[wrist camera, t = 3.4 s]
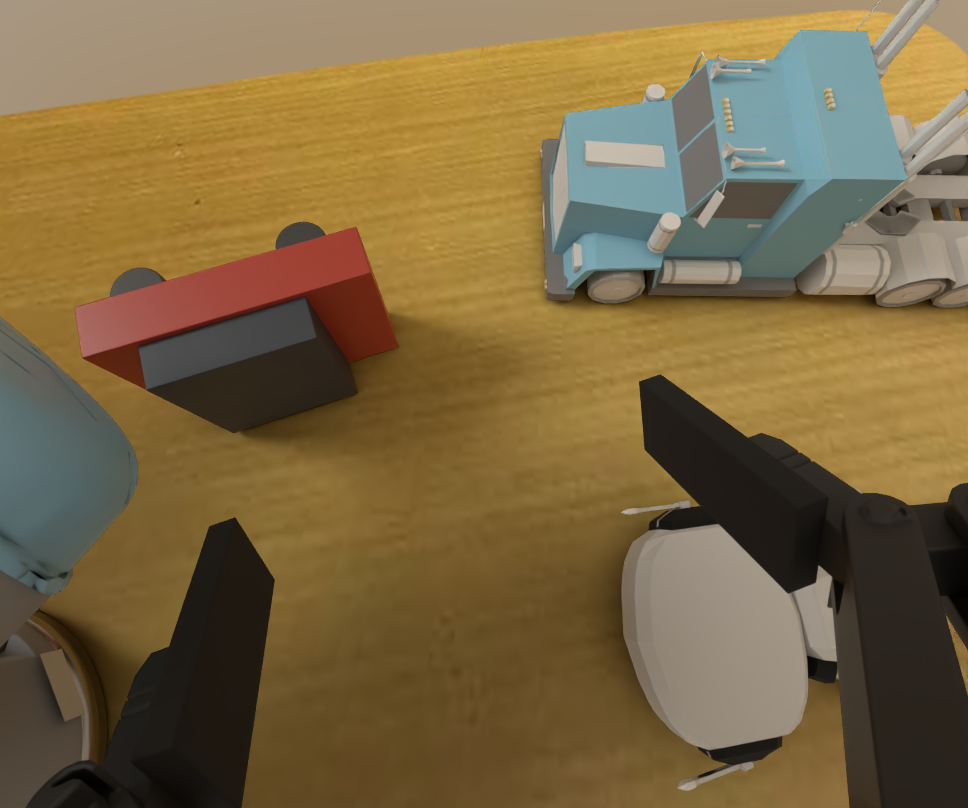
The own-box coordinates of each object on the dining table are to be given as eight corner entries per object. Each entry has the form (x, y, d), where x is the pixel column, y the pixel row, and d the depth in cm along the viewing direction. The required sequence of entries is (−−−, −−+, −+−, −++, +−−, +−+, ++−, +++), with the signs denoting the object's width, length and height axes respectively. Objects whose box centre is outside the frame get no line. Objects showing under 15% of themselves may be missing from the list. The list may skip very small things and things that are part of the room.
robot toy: (827, 484, 31) (589, 516, 29) (890, 472, 27) (616, 508, 25) (898, 709, 28) (635, 761, 26) (984, 737, 23) (676, 802, 22)
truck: (538, 152, 37) (579, -108, 22) (935, 158, 37) (1228, -92, 23) (542, 305, 33) (595, 116, 19) (979, 310, 34) (1357, 130, 19)
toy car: (198, 446, 30) (88, 404, 22) (180, 357, 32) (70, 284, 23) (409, 378, 32) (384, 313, 23) (381, 295, 33) (349, 205, 25)
